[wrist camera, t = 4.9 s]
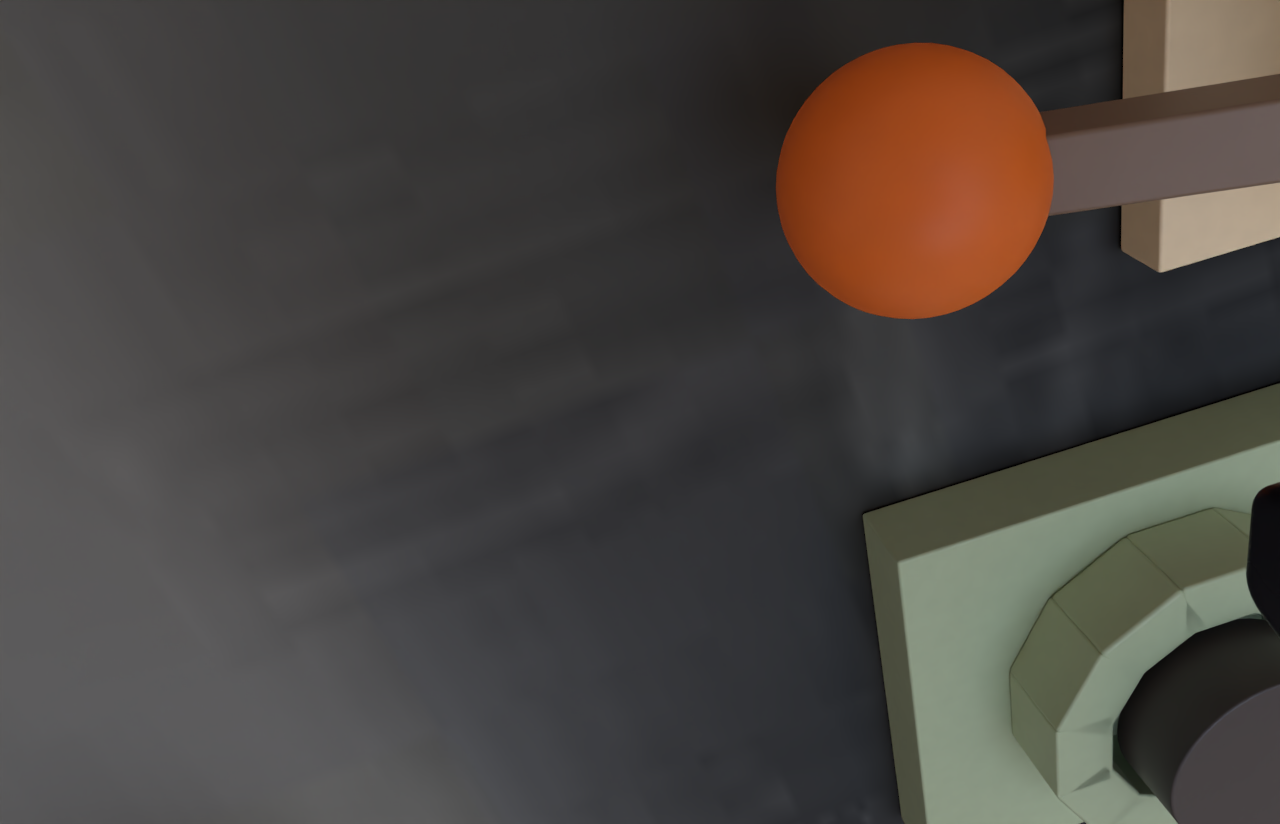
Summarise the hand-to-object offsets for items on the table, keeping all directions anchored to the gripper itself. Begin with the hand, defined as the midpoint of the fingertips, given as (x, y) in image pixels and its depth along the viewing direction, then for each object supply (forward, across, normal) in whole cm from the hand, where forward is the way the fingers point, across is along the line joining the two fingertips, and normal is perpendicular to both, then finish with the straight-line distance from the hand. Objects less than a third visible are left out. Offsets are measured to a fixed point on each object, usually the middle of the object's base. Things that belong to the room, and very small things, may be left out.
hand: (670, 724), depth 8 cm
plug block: (+12, -11, +13) cm, 20 cm away
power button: (+9, -11, +13) cm, 19 cm away
